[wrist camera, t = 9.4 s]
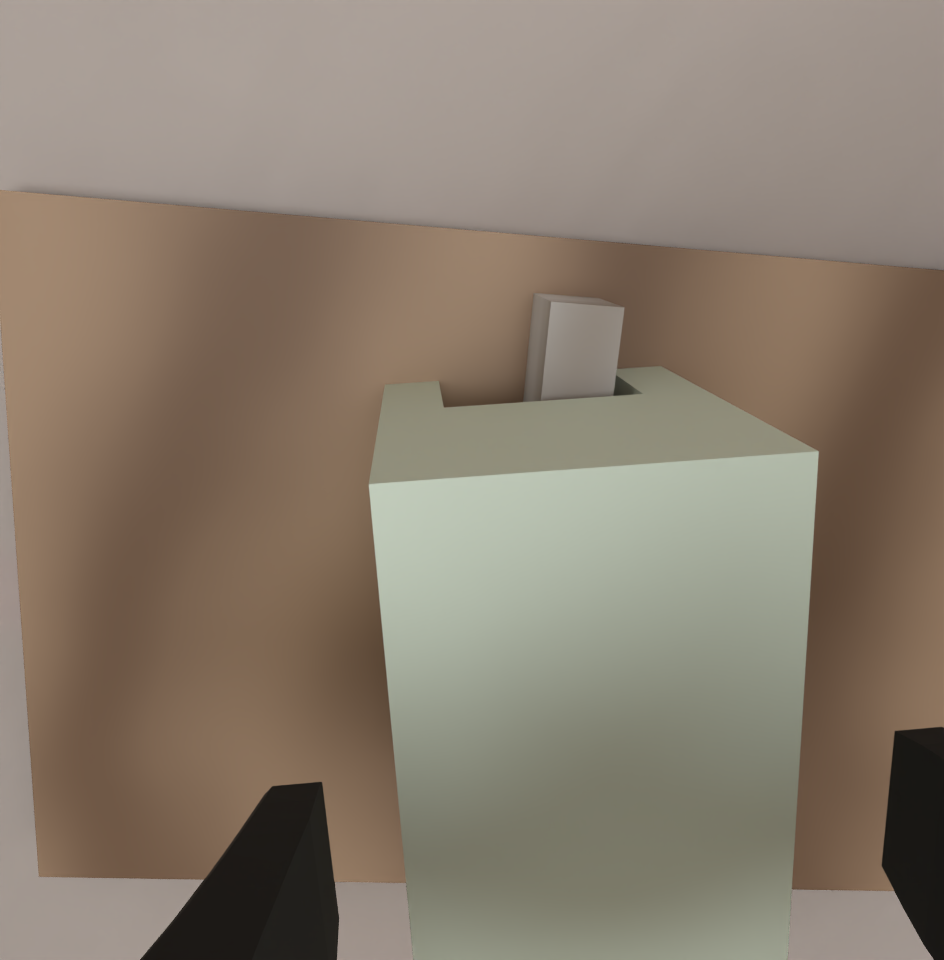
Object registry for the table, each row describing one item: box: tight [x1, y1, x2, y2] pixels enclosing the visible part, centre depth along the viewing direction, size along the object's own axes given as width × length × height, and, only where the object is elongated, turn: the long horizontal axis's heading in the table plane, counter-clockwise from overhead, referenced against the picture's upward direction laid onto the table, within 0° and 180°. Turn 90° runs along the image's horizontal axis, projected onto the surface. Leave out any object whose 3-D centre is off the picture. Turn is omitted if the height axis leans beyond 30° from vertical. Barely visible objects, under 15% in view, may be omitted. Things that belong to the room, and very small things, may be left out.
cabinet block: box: [369, 366, 819, 960], centre depth 14 cm, size 5×8×6 cm, turn 3°
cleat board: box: [0, 190, 944, 891], centre depth 17 cm, size 20×14×3 cm
